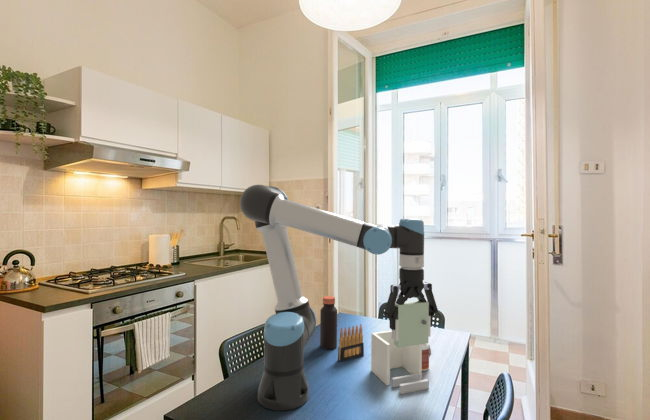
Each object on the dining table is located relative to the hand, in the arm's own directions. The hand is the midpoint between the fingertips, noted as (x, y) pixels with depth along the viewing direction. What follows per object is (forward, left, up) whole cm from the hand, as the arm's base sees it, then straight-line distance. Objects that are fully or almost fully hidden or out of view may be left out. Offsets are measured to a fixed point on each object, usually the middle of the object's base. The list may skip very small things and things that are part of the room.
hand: (411, 337), depth 109 cm
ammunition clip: (-9, +26, -16) cm, 32 cm away
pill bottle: (+11, +11, -16) cm, 22 cm away
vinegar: (-14, +38, -16) cm, 44 cm away
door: (0, 0, -2) cm, 2 cm away
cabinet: (0, +6, -16) cm, 17 cm away
